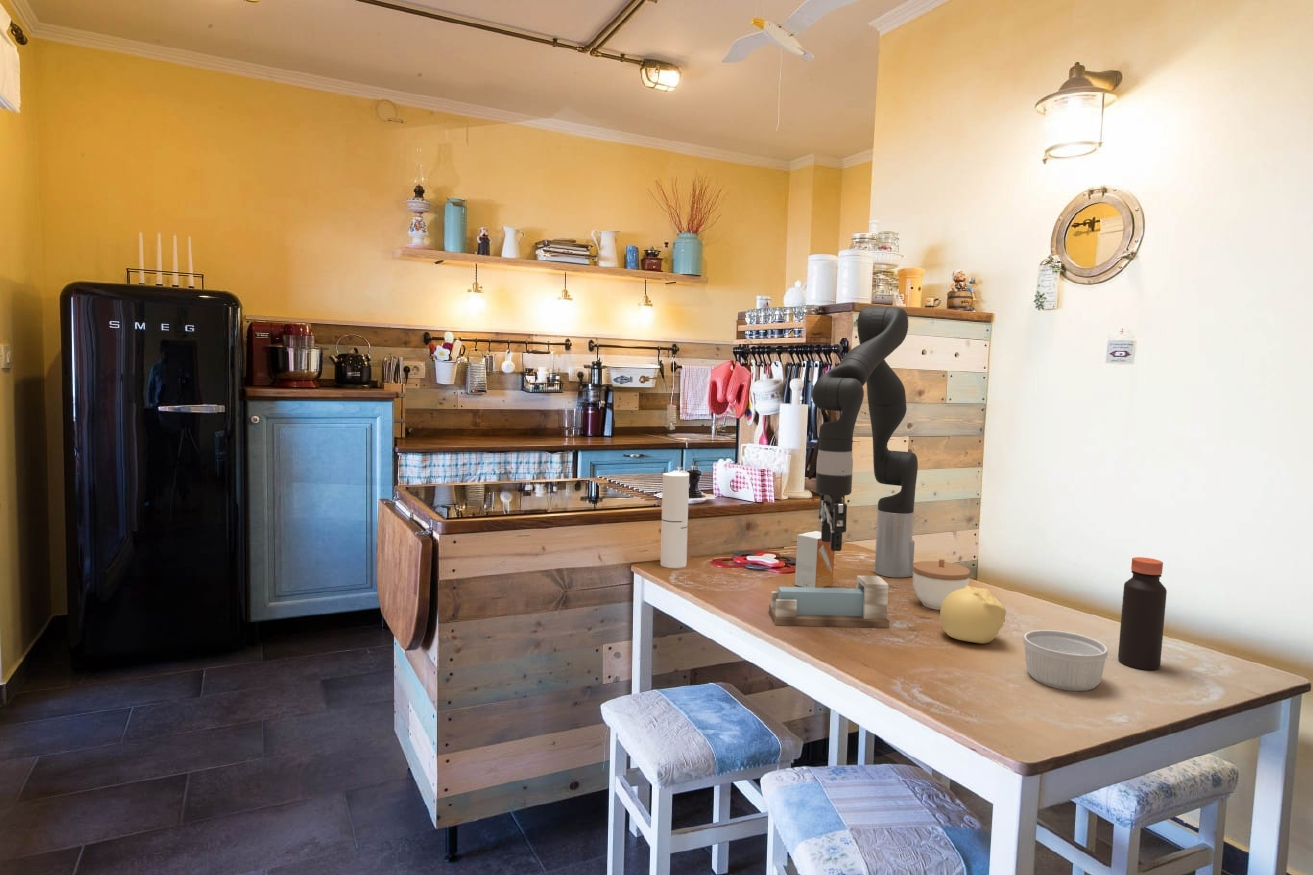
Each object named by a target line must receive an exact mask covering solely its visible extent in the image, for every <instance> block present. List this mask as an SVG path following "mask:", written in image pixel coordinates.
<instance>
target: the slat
mask: <svg viewBox="0 0 1313 875" xmlns="http://www.w3.org/2000/svg"><path fill="white" fill-rule="evenodd" d="M777 591H778V599H792V600H797V613H796V615H831V616H863V606H864V589H857V588H848V587H847V588H845V587H841V588H840V587H823V588H809V587H801V586H778V587H777Z"/></svg>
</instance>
